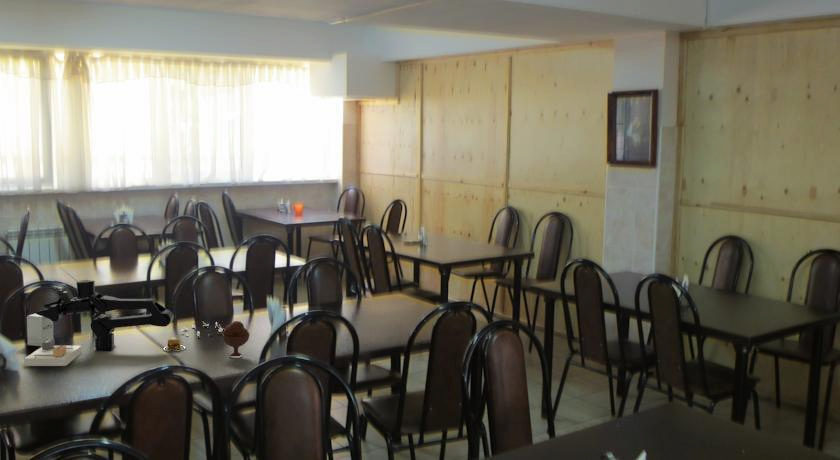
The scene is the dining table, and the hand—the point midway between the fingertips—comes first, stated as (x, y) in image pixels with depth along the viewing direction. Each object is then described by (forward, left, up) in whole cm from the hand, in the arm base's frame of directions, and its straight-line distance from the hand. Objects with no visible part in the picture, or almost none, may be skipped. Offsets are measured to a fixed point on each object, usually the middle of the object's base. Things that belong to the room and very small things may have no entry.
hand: (40, 309), depth 322 cm
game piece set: (-59, -29, -17) cm, 68 cm away
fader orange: (-14, +19, -13) cm, 28 cm away
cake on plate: (-53, -1, -18) cm, 56 cm away
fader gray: (-6, +9, -13) cm, 17 cm away
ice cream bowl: (-80, +10, -17) cm, 83 cm away
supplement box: (+4, -9, -17) cm, 19 cm away
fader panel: (-10, +14, -17) cm, 24 cm away
